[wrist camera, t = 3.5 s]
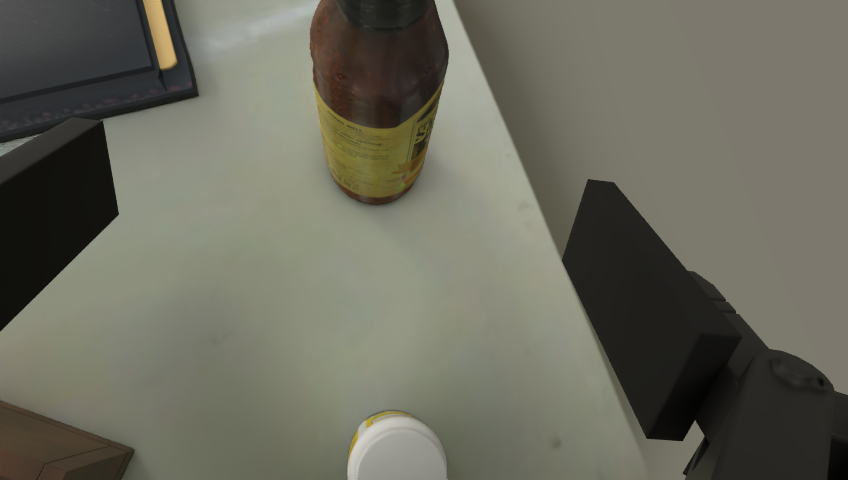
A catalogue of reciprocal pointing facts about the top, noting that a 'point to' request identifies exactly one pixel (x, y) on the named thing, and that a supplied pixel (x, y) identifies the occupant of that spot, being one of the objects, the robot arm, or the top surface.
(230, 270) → the top surface
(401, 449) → the supplement bottle
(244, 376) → the top surface
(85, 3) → the wallet
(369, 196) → the sauce bottle
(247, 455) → the top surface
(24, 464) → the open wooden crate
